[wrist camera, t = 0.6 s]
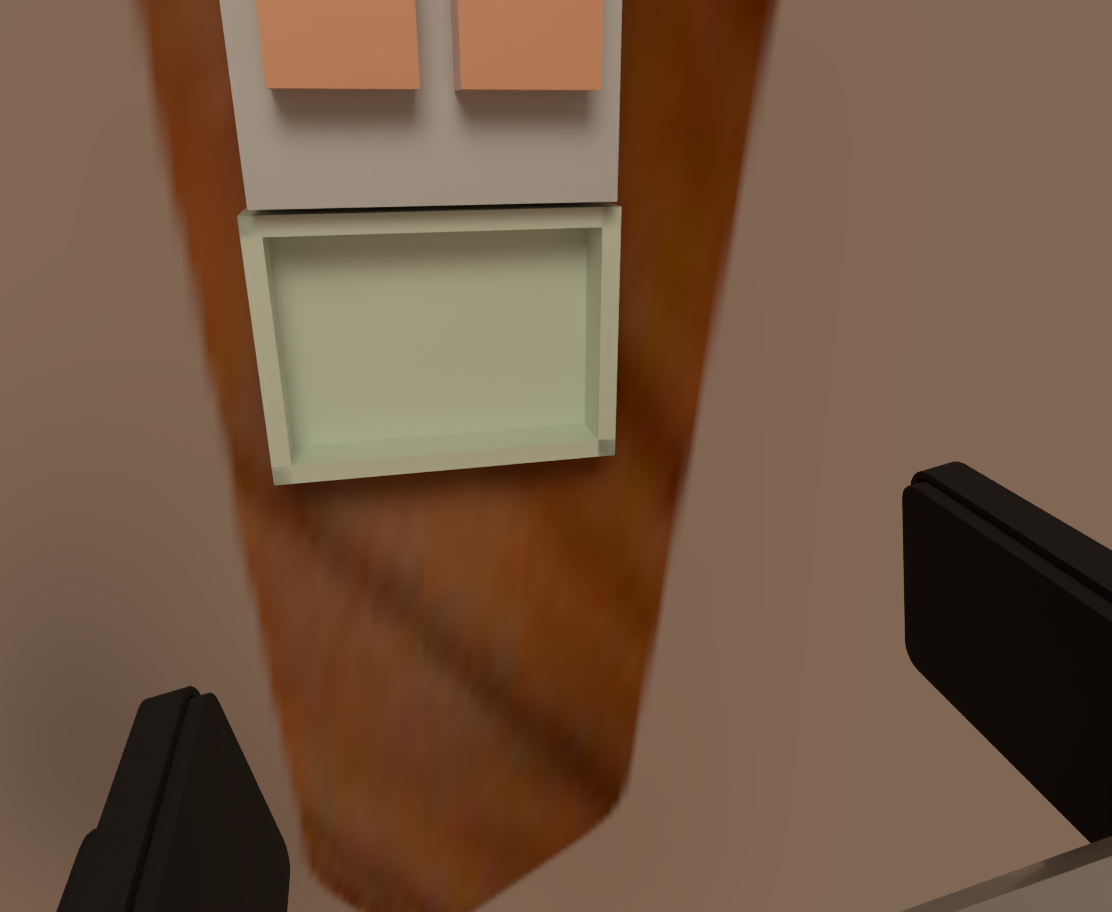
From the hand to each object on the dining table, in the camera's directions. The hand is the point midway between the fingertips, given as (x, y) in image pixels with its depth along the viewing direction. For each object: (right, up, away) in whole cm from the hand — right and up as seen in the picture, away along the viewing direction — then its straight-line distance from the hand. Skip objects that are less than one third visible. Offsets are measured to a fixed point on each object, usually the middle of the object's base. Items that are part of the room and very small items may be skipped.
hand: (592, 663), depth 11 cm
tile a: (-2, +19, +19) cm, 27 cm away
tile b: (-8, +18, +18) cm, 27 cm away
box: (-6, +8, +27) cm, 29 cm away
